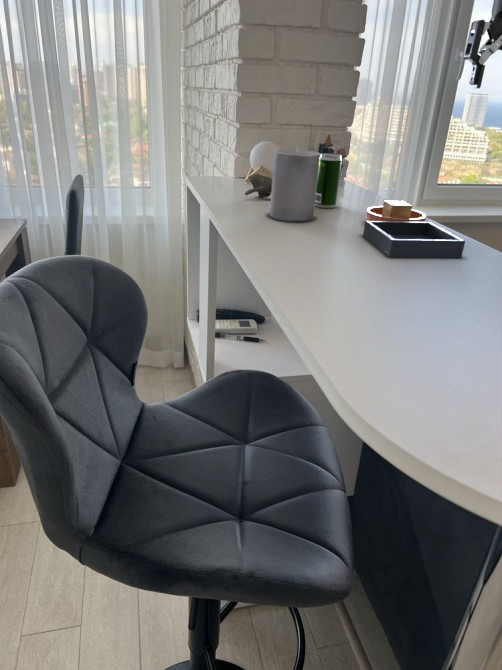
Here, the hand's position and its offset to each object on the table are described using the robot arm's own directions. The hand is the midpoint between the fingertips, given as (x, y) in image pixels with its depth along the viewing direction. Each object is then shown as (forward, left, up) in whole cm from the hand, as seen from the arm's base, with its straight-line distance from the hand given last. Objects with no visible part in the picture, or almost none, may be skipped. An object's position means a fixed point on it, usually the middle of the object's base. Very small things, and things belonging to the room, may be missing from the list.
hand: (497, 89), depth 92 cm
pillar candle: (+33, -14, -28) cm, 45 cm away
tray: (+15, +8, -27) cm, 32 cm away
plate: (+12, -7, -27) cm, 31 cm away
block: (+12, -8, -27) cm, 30 cm away
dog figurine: (+35, -33, -28) cm, 56 cm away
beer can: (+22, -26, -28) cm, 44 cm away
